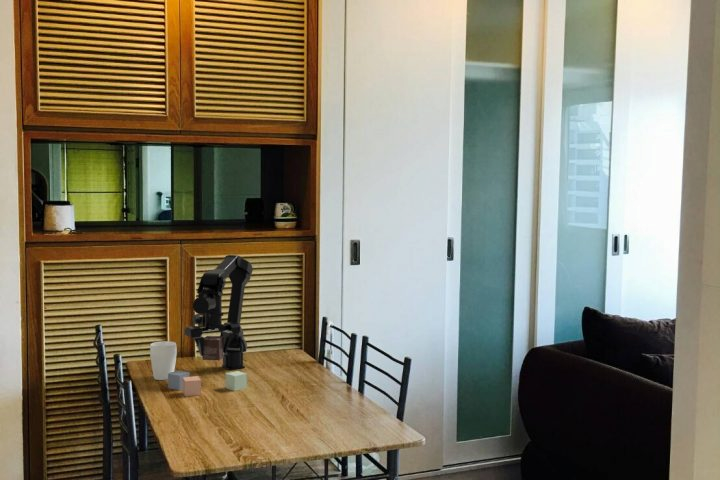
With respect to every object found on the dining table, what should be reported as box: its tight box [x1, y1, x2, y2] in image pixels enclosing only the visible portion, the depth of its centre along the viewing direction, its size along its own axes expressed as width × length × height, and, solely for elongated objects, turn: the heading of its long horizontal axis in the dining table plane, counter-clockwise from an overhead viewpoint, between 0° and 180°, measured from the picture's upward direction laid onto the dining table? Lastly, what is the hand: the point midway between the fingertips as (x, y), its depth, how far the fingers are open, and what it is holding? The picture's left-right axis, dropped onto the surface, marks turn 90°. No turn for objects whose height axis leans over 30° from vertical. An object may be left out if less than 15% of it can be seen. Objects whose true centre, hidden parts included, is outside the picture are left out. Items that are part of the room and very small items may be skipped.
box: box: [202, 335, 224, 361], centre depth 275 cm, size 6×6×7 cm
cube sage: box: [225, 370, 248, 392], centre depth 267 cm, size 5×5×5 cm
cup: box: [149, 340, 178, 381], centre depth 277 cm, size 9×9×12 cm
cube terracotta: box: [182, 375, 202, 397], centre depth 259 cm, size 5×5×5 cm
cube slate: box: [167, 369, 191, 391], centre depth 266 cm, size 5×5×5 cm
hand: (213, 354), depth 275 cm, fingers closed on box, 8 cm apart
